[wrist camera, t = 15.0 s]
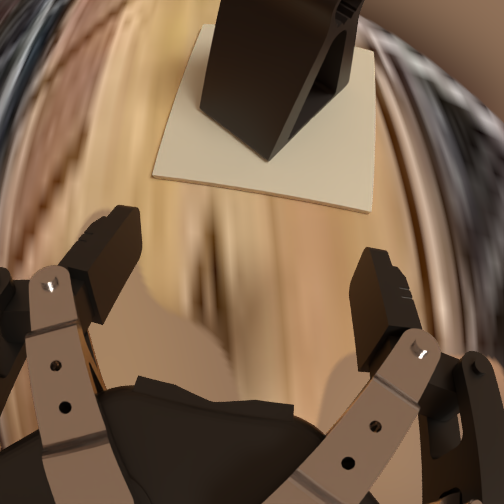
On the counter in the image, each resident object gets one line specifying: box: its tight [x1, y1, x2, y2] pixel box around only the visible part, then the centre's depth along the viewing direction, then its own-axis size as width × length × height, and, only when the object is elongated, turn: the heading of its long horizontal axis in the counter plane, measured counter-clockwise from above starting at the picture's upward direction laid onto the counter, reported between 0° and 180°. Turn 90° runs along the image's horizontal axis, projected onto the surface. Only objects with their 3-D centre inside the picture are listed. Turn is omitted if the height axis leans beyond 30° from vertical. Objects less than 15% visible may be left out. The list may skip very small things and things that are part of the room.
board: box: [152, 24, 376, 214], centre depth 21 cm, size 14×14×1 cm
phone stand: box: [199, 0, 364, 161], centre depth 15 cm, size 9×6×12 cm, turn 138°
